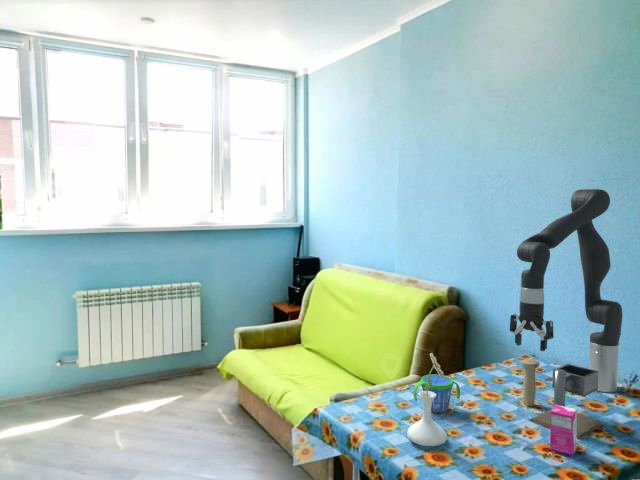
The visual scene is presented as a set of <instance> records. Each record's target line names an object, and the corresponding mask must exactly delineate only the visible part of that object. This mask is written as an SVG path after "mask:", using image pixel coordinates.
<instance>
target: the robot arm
mask: <svg viewBox="0 0 640 480" xmlns="http://www.w3.org/2000/svg"><path fill="white" fill-rule="evenodd" d="M610 205H611V197H610V195H609V193H608V191H606V190H604V189H600V188H589V189H588V188H587V189H577V190H575V191H574V192H573V193H572V195H571V198H570V208H571V212H570V213H567V214H566V215H563V216H561V217H558V218H557V219H555V220H553V221H551V222H550V223H549V224H548V225H546V227H544V228H543V229H542V230H541V231H540V232H537V233H536V234H534V235H531V236H530V237H528V238H526V239H524V240H523V241H522V242H521V243H520V244H519V245H518V247H517V249H516V256H517V258H518V259H519V260H520V261H521V262H524V263H531V266H530V267H529V269H524V270H522V272H521V276H520V278H521V279H520V290H519V311H518V312H519V314H517V313H513V314H511V315H510V320H509V332H512V333H514V343H515V345H516V346H521V345H522V335H523V334H522V333H523V332H524V331H525V330H526V331H530V332H535V333H536V335H538V337H539V339H540V340H539V341H540V343H539V350H540V351H541V352H545V351H546V350H547V349H548V340H549V341H550V340H551V339H554V321H553V320H544V315H545V314H544V313H545V312H544V311H545V291H544V289H545V288H544V287H545V284H544V282H545V274H546V271H547V268H548V265H549V262H550V258H551V249H555V248H556V247H558V246H559V245H561V243H562V242H564V240H566V239H567V238H568V237H569V236H570V235H572V234H573V233H574V232H576V233H577V239H578V246H579V255H580V264H581V269H582V275H583V284H584V285H583V286H584V287H583V288H584V310H585V315H586V318H587V320H588V321H589V322H591V323H594V324H599V325H603V330H602V331H598V332H597V331H596V332H592V333H590V335H589V354H588V355H589V356H588V357H589V358H588V359H589V361H588V369H591V370H595V371H599V372H598V390H596V392H597V391H598V392H602V393H615V392H617V391H618V375H619V373H618V371H619V370H618V369H619V349H620V348H619V343H620V342H619V341H620V339H621V334H622V324H623V308H622V305H621V304H620V303H619V302H618V301H613V300H607V299H602V296H601V285H602V283H603V282H604V280H605V278H606V277H607V275H608V273H609V271H610V269H611V255H610V250H609V247H608V245H607V243H606V241H605V240H604V238H602V236H601V235H600V234H599V232H598V231H597V229H596V228H595V226H594V222H593V220H594V219H596V218H598V217H600V216H601V215H603V214H605V212H607V210H608V209H609V207H610ZM518 321H519V323H520V324H519V325H517V324H518ZM543 325H544V327H545V329H544V327H543Z"/></svg>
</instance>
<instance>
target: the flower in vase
mask: <svg viewBox="0 0 640 480" xmlns="http://www.w3.org/2000/svg"><path fill="white" fill-rule="evenodd" d="M429 357H430V359H431V361H432V368H431V369H430V371H429V373H428V374H427V375H428V377H427V387H425V388H422V390H421V391H419V392H418V393H417V394H418V396H419V397H420V399H421V402H422V412H423V413H422V417H421V419H419V420H418V421H416V422H415V423H413V424H412V425H411V426H409V427H408V428H407V431H406V435H407V437H408V439H409V440H410V441H411V442H413V443H415V444H418V445H420V446H424V447H425V446H426V447H437V446H441V445H442V444H445V442H446V441H447V439H448V435H447V433H446V431H445V430H444V429H443V427H441V426H440V425H439V424H437V423H436V422H435V421H434V420H433V418H432V412H431V406H432V402H433V399H434V398H435V397H436V394H435V393H434V392H431V391H428V388H430V387H432V386H431V385H432V382H431V379H430V378H429V376H430V375H431V373H432V371H433V370H436V372H437V375H440V377H441V378H445V377H444V376H445V375H444V374H445V373H444V371H442V369H441V365H440V364H439V363H438V362H437V357H436V356H434V353H433V352H431V353H429ZM428 383H429V385H428ZM423 389H427V391H423Z"/></svg>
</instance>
